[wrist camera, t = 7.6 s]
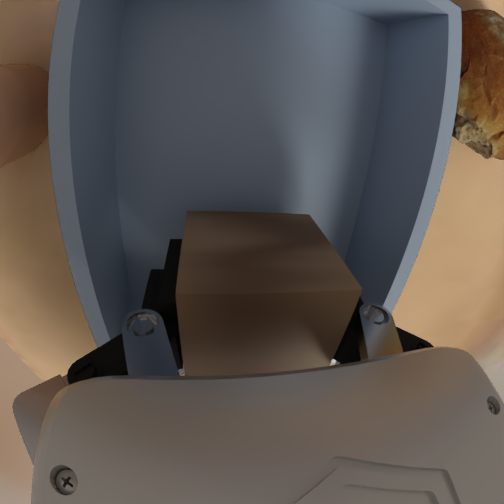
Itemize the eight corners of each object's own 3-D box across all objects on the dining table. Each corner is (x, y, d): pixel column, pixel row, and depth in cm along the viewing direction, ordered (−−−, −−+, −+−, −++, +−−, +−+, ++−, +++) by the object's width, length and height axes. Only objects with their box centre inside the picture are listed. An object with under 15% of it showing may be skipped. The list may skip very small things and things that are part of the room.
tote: (337, 300, 18) (368, 357, 14) (124, 302, 16) (106, 368, 12) (394, 20, 9) (461, 8, 5) (117, -15, 7) (76, -56, 3)
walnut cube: (309, 214, 12) (362, 289, 7) (289, 304, 14) (318, 386, 10) (187, 210, 11) (175, 293, 7) (189, 306, 13) (188, 396, 9)
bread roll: (470, 128, 16) (551, 146, 10) (431, 177, 13) (553, 211, 7) (443, 16, 11) (531, 19, 5) (387, 7, 8) (534, 1, 2)
